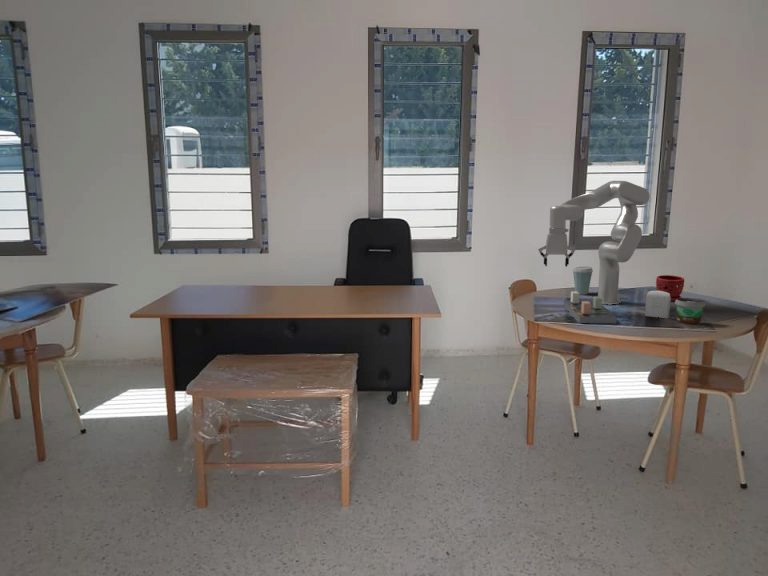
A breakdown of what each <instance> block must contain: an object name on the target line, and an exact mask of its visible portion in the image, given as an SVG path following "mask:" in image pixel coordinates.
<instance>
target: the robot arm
mask: <svg viewBox="0 0 768 576" xmlns="http://www.w3.org/2000/svg"><path fill="white" fill-rule="evenodd" d="M650 196H651V195H650V192H649V190H647V189H646V188H645V187H642V186H641V185H637V184H635V183H632V182H629V181H627V180H611V181H608V182H606V183H604V184H602V185H601V186H598V187H597V188H595V189H593V190H592V191H589V192H588V193H584V194H581V195H579V196H576V197H573V198H570V199H569V200H566V201H565V202H563V203H562V204H560V205H553V206H551V207H550V209H549V230H548V231H549V232H548V233H547V236H546V242H545V245H544V246H542V247H539V248H538V249H537V251H538V253H540V256H541V257H543V265H544V266H545V267H547V266H548V256H549V255H550V256H551V255H560V256H561V255H562V256H565V261H564V263H565V264H564V266H565V267H566V268H567V267H568V265H569V264H570V263H569V261H570V258H571V257H572V256H573V255H574V253H575V251H576V249H575V248H573V247H572V246H569V245H568V235H567V234H568V232H569V229H568V228H567V227H566V226H567V225H566V224H567V223H566V222H567V221H571V222H574V221H578V220H581V218H582V217H583V216H584V211H585V210H592V209H596V208H599V207H601V206H603V205H605V204H606V203H608V202H610V201H612V200H613V199H614V200H615V199H618V202H619V205H620V214H619V216H618V217H617V219H616V222H615V223H614V225H613V227H612V229H611V231H610V237H611V239H612V240H615V241H604V242H603V243H601V244H600V245H599V247H598V258H599V259H598V260H599V270H598V271H599V275H598V289H597V290H598V291H597V292H598V293H597V296H600V297H601V298H602V305H606V304H608V305H611V306H613V305H612V304H616V305H620V304H621V303H622V301H621V300H628V298H629V297H628V295H623V294H620V293H619V282H620V279H619V278H620V264H619V263H626V262H628V261H629V260H630V259H631V258H632V257H633V255H634V253H635V251H636V249H637V248H638V245H639V243H640V241H641V239H642V235H643V231H642V227H641V226H640V225H638V224H636V222H637V221H638V220H637V219H638V217H639V210H638V207H637V206H644V205H646V204H647V203H648V202H649V201H650ZM544 250H545V254H544V252H543V251H544ZM569 250H570V253H568V251H569ZM619 303H620V304H619Z"/></svg>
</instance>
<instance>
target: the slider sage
mask: <svg viewBox="0 0 768 576" xmlns="http://www.w3.org/2000/svg"><path fill="white" fill-rule="evenodd" d="M592 301H593V307H594V308H595V309H602V306H603V304H602V298H601V297H600V296H598V295H597V296H596V295H595V296H593V297H592Z"/></svg>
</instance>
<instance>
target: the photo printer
mask: <svg viewBox="0 0 768 576" xmlns="http://www.w3.org/2000/svg"><path fill="white" fill-rule="evenodd" d="M645 298H646V299H645V307H644V316H645V317H649V318H650V317H652V318H658V317H659V319H669V318H670V310H671V302H672V301H671V297H670V294H669V293H667V292H664V291H657V290H649V291H648V292H647V294H646V297H645Z"/></svg>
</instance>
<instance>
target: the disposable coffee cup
mask: <svg viewBox="0 0 768 576" xmlns="http://www.w3.org/2000/svg"><path fill="white" fill-rule="evenodd" d="M593 272H594V271H593V267H592V266H588V265H587V266H575V267H574V268H573V269H572V273H573V283H574V292H578V293H579V296H580V295H583V296H584V295H588V294H589V290H590V286H591V284H590V283H591V280H592V277H593V276H592V275H593Z"/></svg>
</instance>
